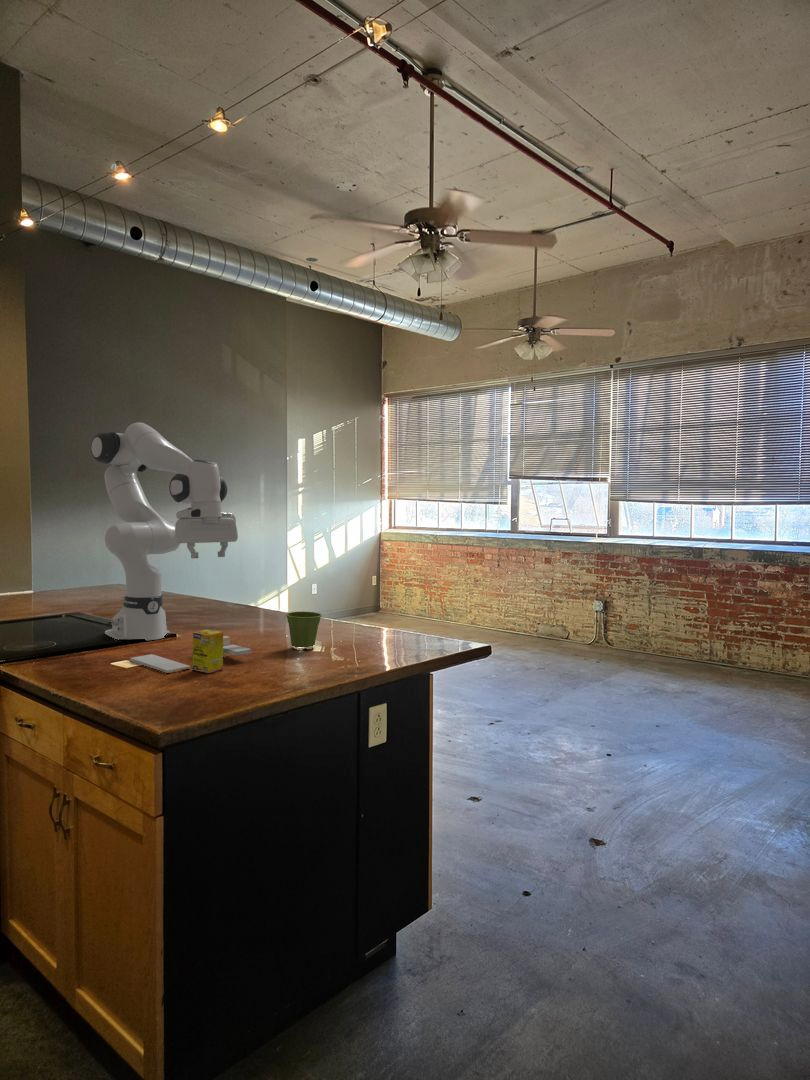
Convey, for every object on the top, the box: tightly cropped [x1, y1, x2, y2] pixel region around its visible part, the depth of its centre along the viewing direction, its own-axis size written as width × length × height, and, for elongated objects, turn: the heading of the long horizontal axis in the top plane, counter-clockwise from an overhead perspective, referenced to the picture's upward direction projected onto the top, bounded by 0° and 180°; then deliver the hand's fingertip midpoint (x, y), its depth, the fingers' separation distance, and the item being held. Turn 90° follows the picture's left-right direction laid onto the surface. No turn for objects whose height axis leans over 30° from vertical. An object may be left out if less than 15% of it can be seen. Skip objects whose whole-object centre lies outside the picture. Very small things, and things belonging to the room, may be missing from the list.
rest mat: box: [129, 653, 191, 673], centre depth 196 cm, size 20×7×1 cm, turn 50°
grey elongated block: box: [223, 634, 252, 656], centre depth 208 cm, size 17×5×6 cm, turn 50°
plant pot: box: [284, 611, 323, 647], centre depth 223 cm, size 12×12×11 cm
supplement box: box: [192, 629, 225, 671], centre depth 192 cm, size 6×6×11 cm
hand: (208, 557), depth 210 cm, fingers open, 8 cm apart
